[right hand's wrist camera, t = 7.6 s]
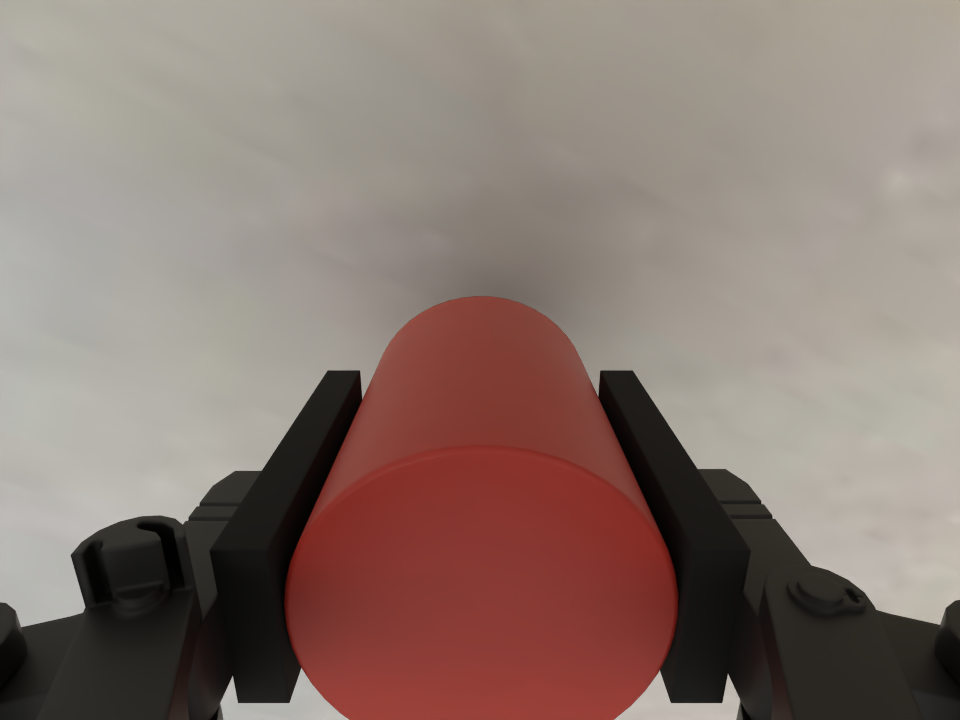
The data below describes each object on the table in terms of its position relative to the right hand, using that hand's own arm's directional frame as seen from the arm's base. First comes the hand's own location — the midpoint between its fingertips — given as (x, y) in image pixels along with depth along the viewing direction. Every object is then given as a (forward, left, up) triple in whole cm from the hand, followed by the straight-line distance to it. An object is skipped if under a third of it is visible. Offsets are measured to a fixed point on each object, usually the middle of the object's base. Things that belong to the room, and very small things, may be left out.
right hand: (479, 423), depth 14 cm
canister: (0, 0, -2) cm, 2 cm away
